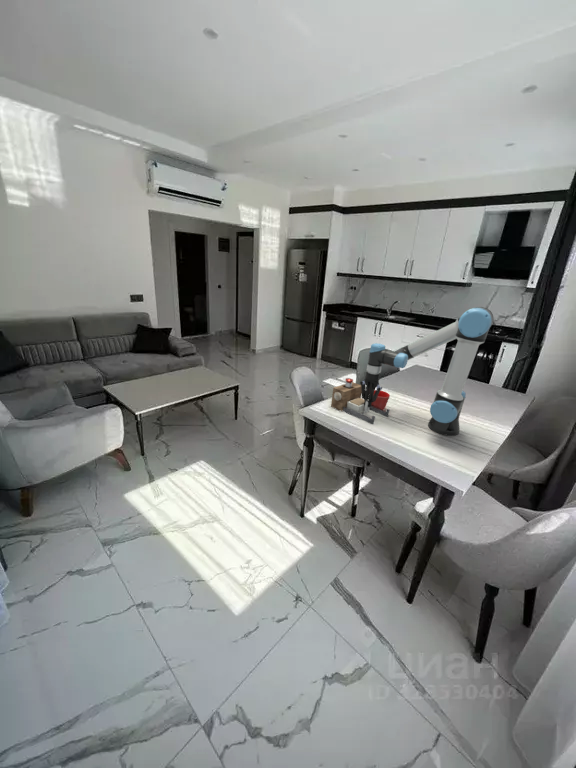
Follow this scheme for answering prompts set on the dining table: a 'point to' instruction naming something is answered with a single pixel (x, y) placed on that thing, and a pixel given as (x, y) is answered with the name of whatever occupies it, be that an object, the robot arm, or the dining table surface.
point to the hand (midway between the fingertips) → (366, 411)
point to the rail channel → (365, 418)
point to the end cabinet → (345, 395)
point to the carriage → (356, 405)
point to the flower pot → (381, 400)
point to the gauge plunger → (348, 383)
